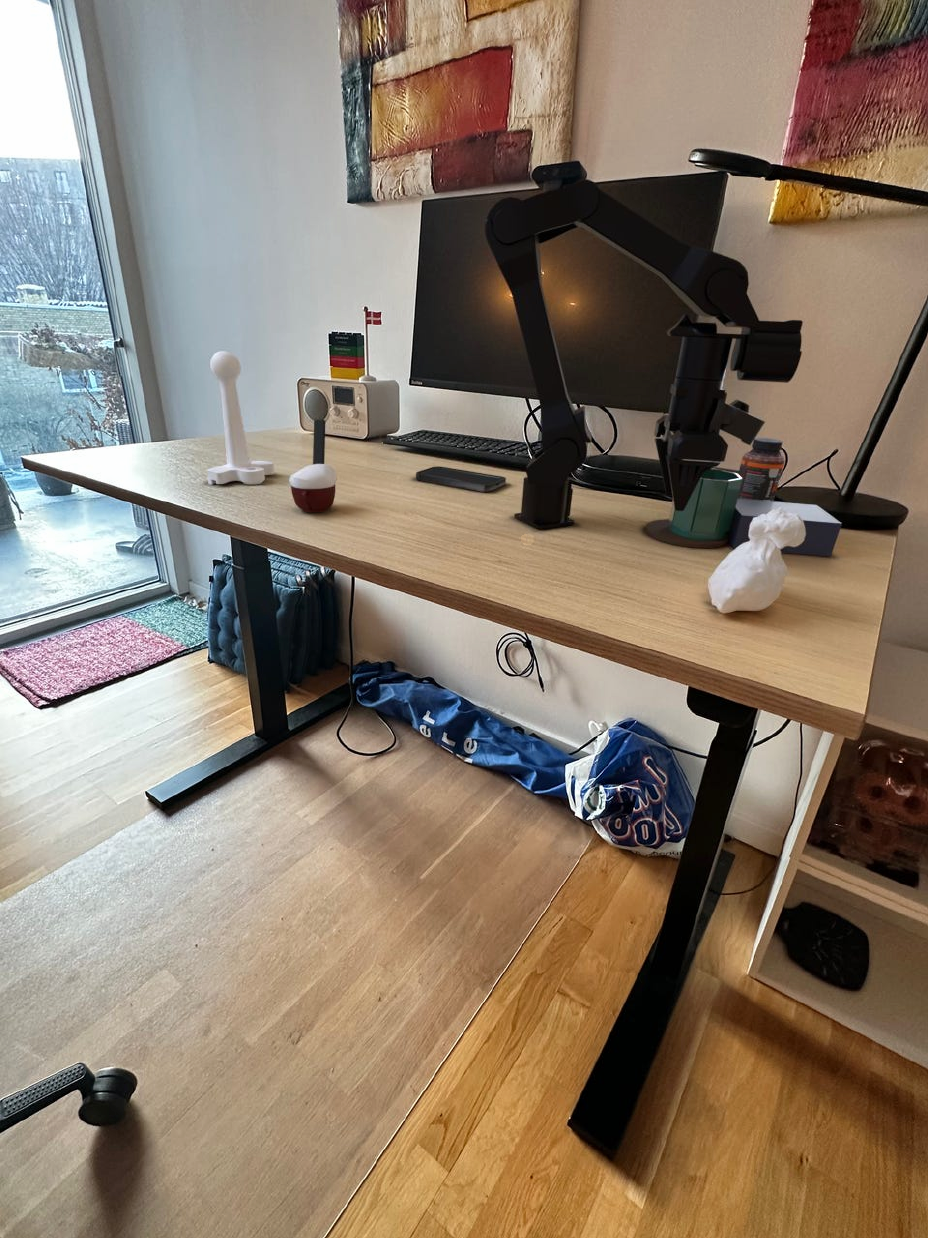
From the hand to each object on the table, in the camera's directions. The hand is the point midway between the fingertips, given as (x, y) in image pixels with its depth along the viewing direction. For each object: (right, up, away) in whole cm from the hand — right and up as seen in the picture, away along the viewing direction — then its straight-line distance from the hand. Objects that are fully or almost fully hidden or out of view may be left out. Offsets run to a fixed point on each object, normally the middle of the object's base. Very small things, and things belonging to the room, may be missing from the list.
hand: (674, 501), depth 79 cm
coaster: (+2, -4, +2) cm, 5 cm away
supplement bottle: (+17, +1, +13) cm, 22 cm away
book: (+13, -6, 0) cm, 15 cm away
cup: (0, 0, 0) cm, 0 cm away
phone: (-29, +8, +24) cm, 39 cm away
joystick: (-66, +7, +20) cm, 69 cm away
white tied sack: (0, -15, -19) cm, 24 cm away
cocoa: (-50, 0, +6) cm, 51 cm away
